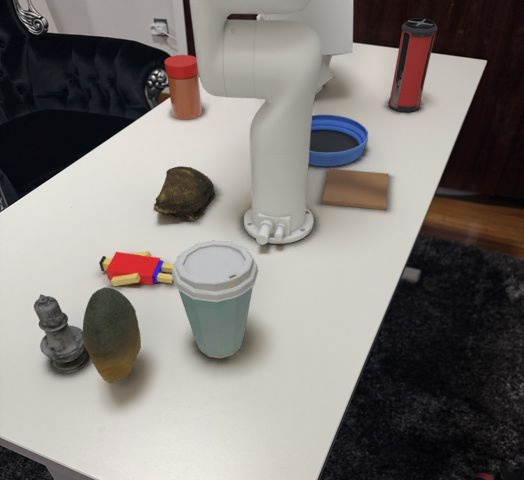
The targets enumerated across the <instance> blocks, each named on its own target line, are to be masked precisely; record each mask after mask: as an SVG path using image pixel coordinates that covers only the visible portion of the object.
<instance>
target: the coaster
mask: <svg viewBox="0 0 524 480" xmlns="http://www.w3.org/2000/svg"><path fill="white" fill-rule="evenodd" d="M388 184H389V173H383V172H375V171H374V172H373V171H363V170H362V171H361V170H350V169H339V168H328V171H327V175H326V179H325V185H324V190H323V196H322V199H321V204H324V205H333V206H342V207H343V206H344V207H351V208H353V207H354V208H363V209H374V210H384V211H385V210H387V208H388V207H387V206H388V204H387V203H388V186H389V185H388Z"/></svg>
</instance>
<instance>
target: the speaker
mask: <svg viewBox="0 0 524 480" xmlns="http://www.w3.org/2000/svg"><path fill="white" fill-rule="evenodd" d="M400 32H401V36H400V41H399V46H398V51H397V57H396V63H395V69H394V75H393V78H392V79H393V80H392V85H391V90H390V97H388V98H389V99H388V106H389V107H390V108H391V109H393V110H395V111H397V112H401V113H403V112H407V113H411V112H414V111H417V110H419V109H420V108H421V105H422V95H423V92H424V86H425V82H426V77H427V73H428V68H429V64H430V60H431V55H432V51H433V47H434V42H435V38H436V33H437V32H438V26H437V24H436V23H435V21H434V20H432V19H429V18H421V17H419V18H418V17H416V18H415V17H414V18H409V19H407V20H406V21H405V22H404V23H402V25H401V31H400Z"/></svg>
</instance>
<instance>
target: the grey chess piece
mask: <svg viewBox="0 0 524 480" xmlns="http://www.w3.org/2000/svg"><path fill="white" fill-rule="evenodd" d="M33 309H34V312H35V314H36V316H37V318H38V320H39V321H38V327H39V328H40V330H41V331H44V336H43V337H42V339H41V341H40V343H39V344H40V345H39V348H40V351H41V353H42V355H44V356H46V357H47V358H49V359H50V365H51V367H52V369H53V370H54V371H56V372H57V373H61V374H70V373H71V374H72V373H74V372H77V371H79V370H81V369H83V368H84V367H85V366H86V365H87V364H88V363H89V361H90V359H91V357H90V355H89V353H88V351H87V350H86V348H85V346H84V343H83V337H82V334H83V329H81V328H80V327H78V326H75V325H69V323H68V322H69V317H68V315H67V313H65V312H63V311H62V308H61V306H60V304H59V302H58V300H57V299H56V298H55V297H52V296H50V295H44V294H42V293H40V295H39V296H38V299H36V300H35V302H34V304H33Z"/></svg>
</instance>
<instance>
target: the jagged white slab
mask: <svg viewBox="0 0 524 480" xmlns="http://www.w3.org/2000/svg"><path fill="white" fill-rule="evenodd" d="M256 20H288V21H297V22H301V23H304V24H307V25H309V26H311V27H312V28H313V29H314V30H315V31H316V32H317V33H318V35H319V37H320V39H321V43H322V62H321V68H320V73H319V78H318V83H317V88H316V92H315V96H316V95H317V94H318V93H320V92H321V91H322V90H323V86H324V85H325V84H326V83H328V82H329V81H330V80H331V79H333V78H334V77H335V75H334V74H333V72H332V71H331V70H330V69H329V68H330V65H331V61H332V58H333V57H334V56H339V55H347V54H352V53H354V51H353V49H354V0H310V2H309V4H308V5H307V7H306V8H304V9H303V10H301V11H299V12H295V13H288V14H257V16H256Z"/></svg>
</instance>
